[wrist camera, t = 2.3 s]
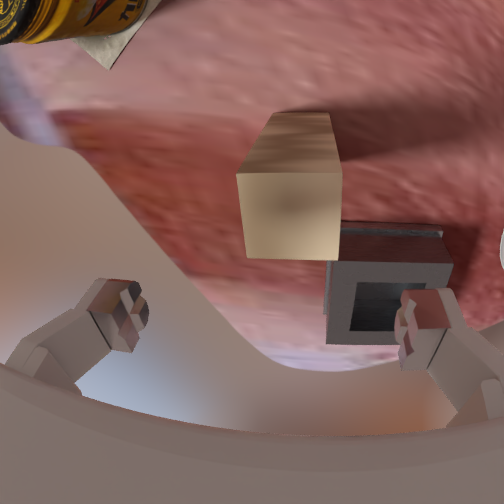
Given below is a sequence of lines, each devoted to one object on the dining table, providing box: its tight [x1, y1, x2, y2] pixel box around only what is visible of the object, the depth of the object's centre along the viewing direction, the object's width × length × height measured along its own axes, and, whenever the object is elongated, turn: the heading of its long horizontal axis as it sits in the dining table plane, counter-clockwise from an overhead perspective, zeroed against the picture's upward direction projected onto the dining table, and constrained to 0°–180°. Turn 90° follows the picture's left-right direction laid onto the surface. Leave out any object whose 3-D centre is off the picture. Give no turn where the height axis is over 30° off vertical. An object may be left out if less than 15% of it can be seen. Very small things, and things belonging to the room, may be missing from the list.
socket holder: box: [323, 221, 454, 345], centre depth 26 cm, size 10×10×5 cm
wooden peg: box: [236, 112, 342, 261], centre depth 18 cm, size 4×4×12 cm
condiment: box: [0, 0, 162, 70], centre depth 13 cm, size 7×8×12 cm
